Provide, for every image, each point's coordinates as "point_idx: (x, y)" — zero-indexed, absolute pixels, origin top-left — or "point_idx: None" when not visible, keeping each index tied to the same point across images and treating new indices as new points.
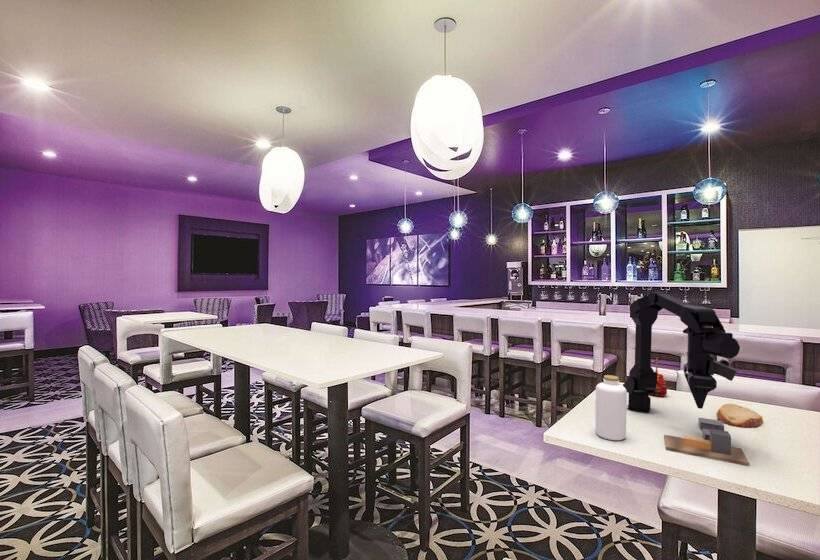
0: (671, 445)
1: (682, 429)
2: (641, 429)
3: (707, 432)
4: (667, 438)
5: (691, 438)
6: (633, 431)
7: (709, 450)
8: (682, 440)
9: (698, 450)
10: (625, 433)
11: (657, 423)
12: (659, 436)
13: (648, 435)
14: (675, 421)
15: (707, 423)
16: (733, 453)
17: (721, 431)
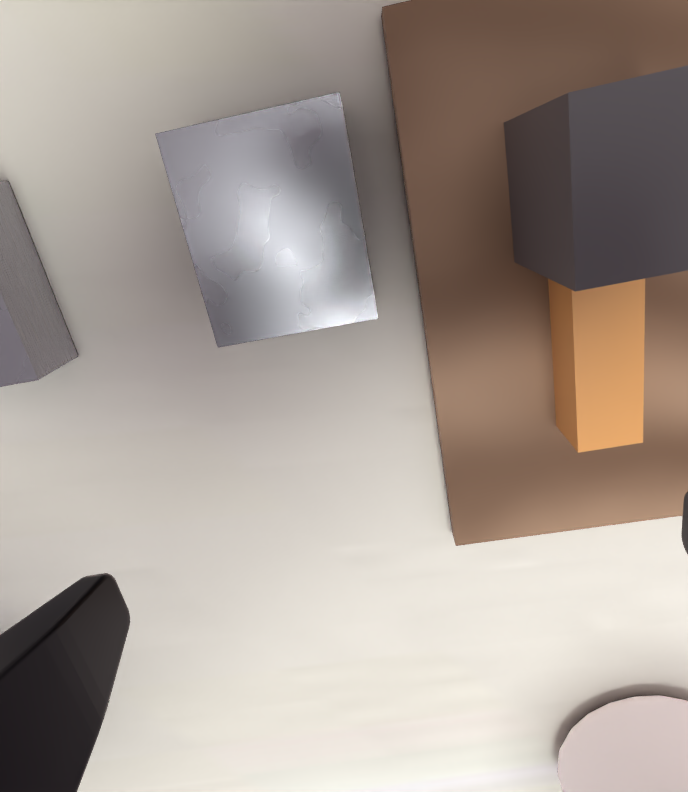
0: (670, 486)
1: (175, 459)
2: (391, 647)
3: (307, 303)
4: (529, 521)
5: (609, 400)
6: (466, 673)
7: None
8: (504, 439)
9: (671, 325)
10: (685, 724)
11: (183, 595)
12: (455, 555)
13: (482, 605)
14: (25, 514)
15: (13, 324)
16: (580, 68)
17: (614, 166)
